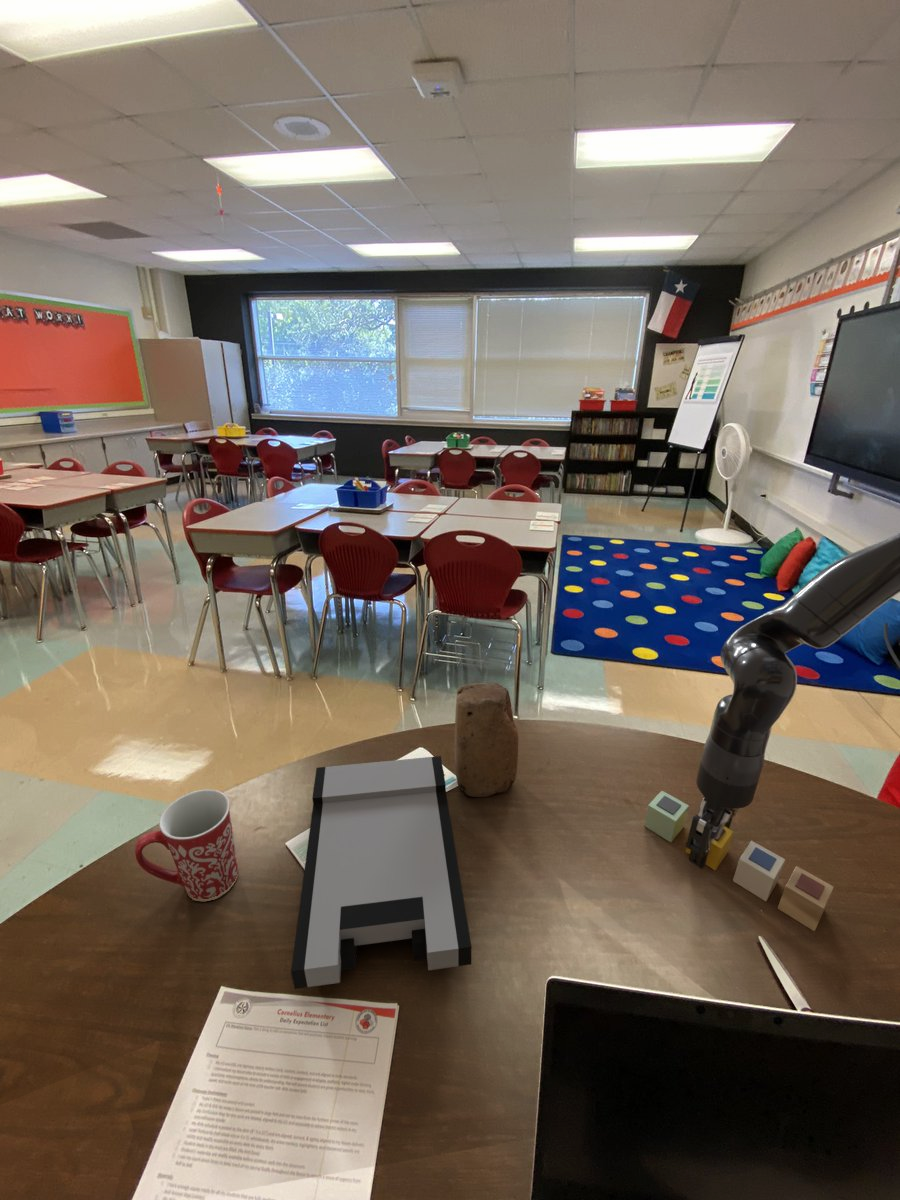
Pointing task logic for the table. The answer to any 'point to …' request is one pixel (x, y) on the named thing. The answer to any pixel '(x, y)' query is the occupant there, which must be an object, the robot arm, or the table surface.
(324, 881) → the grey notched sloped slab
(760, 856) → the block
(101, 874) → the table surface
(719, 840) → the yellow block
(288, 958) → the table surface
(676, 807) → the block
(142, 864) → the mug
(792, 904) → the block
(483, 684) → the block
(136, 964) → the table surface
